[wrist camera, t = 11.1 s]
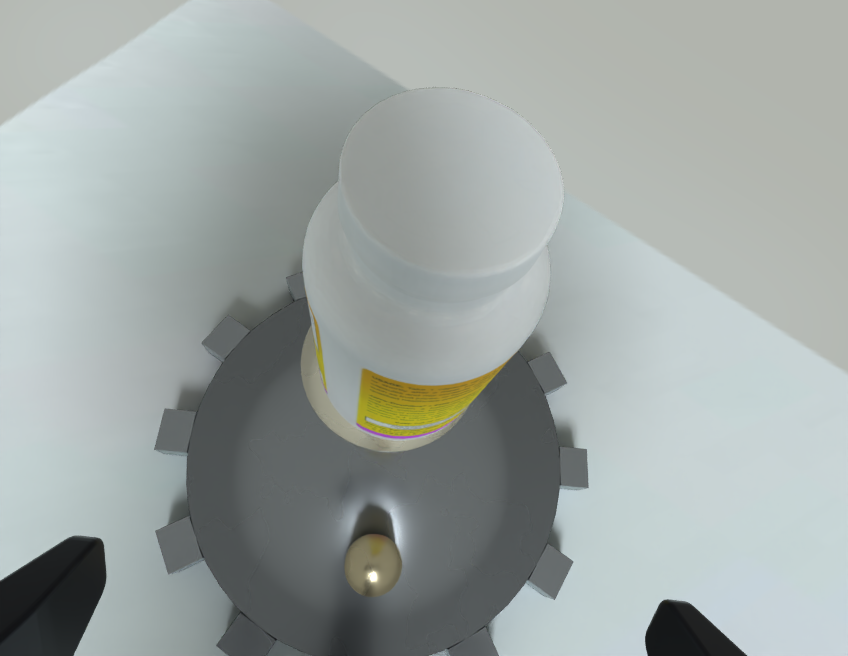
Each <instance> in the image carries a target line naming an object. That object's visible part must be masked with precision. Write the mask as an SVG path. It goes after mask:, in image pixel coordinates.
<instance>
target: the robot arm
mask: <svg viewBox="0 0 848 656" xmlns="http://www.w3.org/2000/svg"><path fill="white" fill-rule="evenodd" d="M105 583H106V565H105V553H104V544H103V541H102V540H101V539H100V538H96V537H87V536H72V537H69V538H67V539H65V540H64V541H62V542H61V543H59V544H58V545H56V546H54V547H53V548H51V549H50V550H48V551H46V552H45V553H43V554H42V555H40V556H38V557H37V558H35V559H34V560H32V561H31V562H29V563H27V564H26V565H24V566H23V567H21V568H19V569H18V570H16V571H15V572H13V573H12V574H10V575H8V576H7V577H5V578H4V579H2V580H0V656H73V655H74V653H75V651H76V649H77V647H78V645H79V643H80V640H81V638H82V636H83V634H84V632H85V630H86V628H87V625H88V623H89V621H90V619H91V617H92V615H93V613H94V610H95V608H96V606H97V604H98V602H99V600H100V598H101V595H102V593H103V590H104V587H105ZM645 644H646V650H647V654H648V656H747V655H746V654H745V653H744V652H743V651H742V650H740V649H739V648H738V647H737V646H736V645H735V644H734V643H733V642H732V641H731V640H730V639H729V638H727V637H726V636H725V635H724V634H723V633H722V632H721V631H720V630H719V629H718V628H717V627H715V626H714V625H713V624H712V623H711V622H710V621H709V620H708V619H707V618H706V617H705V616H704V615H702V614H701V613H700V612H699V611H698V610H697V609H696V608H695V607H694V606H692V605H691V604H690V603H688V602H685V601H677V600H668V599H667V600H663V601H662V602H661V603H660V604H659V606H658V608H657V610H656V612H655V614H654V616H653V619H652V621H651V623H650V625H649V627H648V629H647V631H646V636H645Z"/></svg>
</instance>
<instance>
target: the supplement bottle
mask: <svg viewBox="0 0 848 656" xmlns="http://www.w3.org/2000/svg"><path fill="white" fill-rule="evenodd" d="M563 201H564V186H563V179H562V175H561V171H560V167H559V165H558V163H557V160H556V158H555V156H554V154H553V152H552V150H551V148H550V147H549V145H548V144H547V142H546V141H545V139H544V138H543V136H542V135H541V134H540V133H539V132H538V131H537V130H536V128H535V127H534V126H533V125H532V124H531V123H529V122H528V121H527V120H526V119H525V118H524V117H523V116H521V115H520V114H518V113H517V112H516V111H514V110H513V109H511V108H510V107H508V106H506V105H503V104H501V103H499V102H497V101H496V100H493V99H491V98H489V97H486V96H483V95H481V94H477V93H474V92H471V91H467V90H462V89H457V88H445V87H432V88H421V89H414V90H409V91H405V92H402V93H399V94H396V95H393V96H391V97H389V98H387V99H385V100H383V101H381V102H379V103H378V104H376V105H375V106H374V107H372V108H371V109H370V110H368V111H367V112H366V113H365V114H364V115H363V116H362V117H361V118H360V119H359V120H358V121H357V122H356V124H355V125H354V126H353V128H352V129H351V131H350V132H349V134H348V136H347V138H346V141H345V143H344V145H343V149H342V152H341V156H340V162H339V181H337V182H336V183H335V184H334V185H333V186H332V187H331V188H330V189H329V191H328V192H327V193H326V194H325V195H324V197H323V198H322V200H321V201H320V203H319V204H318V206H317V208H316V209H315V211H314V213H313V215H312V217H311V220H310V222H309V224H308V228H307V231H306V235H305V240H304V246H303V255H302V269H303V277H304V284H305V292H306V296H307V301H308V306H309V312H310V317H311V323H312V330H313V336H314V342H315V348H316V355H317V360H318V367H319V372H320V377H321V380H322V383H323V387H324V390H325V392H326V394H327V396H328V398H329V400H330V402H331V403H332V405H333V406H334V408H335V409H336V410H337V411H338V413H339V414H340V415H341V416H342V417H343V418H344V419H345V420H346V421H348V422H349V423H350V424H351V425H353V426H354V427H356V428H357V429H359V430H361V431H363V432H365V433H367V434H369V435H371V436H374V437H378V438H381V439H387V440H394V441H405V440H413V439H419V438H423V437H426V436H429V435H431V434H434V433H436V432H438V431H440V430H441V429H443V428H445V427H446V426H448V425H449V424H450V423H451V422H453V421H454V420H455V419H456V418H457V417H458V416H459V415H460V414H461V413H462V412H463V411H464V410H465V409H466V408H467V407H468V406H469V405H470V403H471V402H472V401H473V400H474V399H475V398H476V397H477V396H478V395H479V393H480V392H481V391H482V390H483V389H484V388H485V387H486V386H487V384H488V383H489V382H490V381H491V380H492V379H493V378H494V377H495V375H496V374H497V373H498V372H499V371H500V370H501V369H502V368H503V366H504V365H505V364H506V363H507V362H508V361H509V360H510V359H511V358H512V356H513V355H514V354H515V353H516V352H517V351H518V350H519V349H520V348H521V346H522V345H523V344H524V342H525V341H526V340H527V339H528V337H529V336H530V335H531V333H532V332H533V331H534V329H535V327H536V325H537V324H538V322H539V320H540V318H541V316H542V313H543V311H544V308H545V305H546V302H547V298H548V294H549V288H550V280H551V267H550V256H549V250H548V246H547V244H548V242H549V241H550V239H551V237H552V236H553V234H554V232H555V229H556V227H557V225H558V222H559V220H560V217H561V213H562V208H563Z"/></svg>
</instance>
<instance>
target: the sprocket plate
mask: <svg viewBox="0 0 848 656" xmlns="http://www.w3.org/2000/svg"><path fill="white" fill-rule="evenodd" d="M286 279H287V283H288V288H289V291H290V293H291V295H292V298H293V300H294V302H293V303H292V304H290V305H288V306H286V307H285V308H283V309H281V310H280V311H278V312H276V313H274V314H273V315H271V316H270V317H269V318H267V319H266V320H265V321H263V322H262V323H261V324H259V325H258V326H257V327H256V328H254V329H253V330H252V331H250V330H249V329H247V328H246V327H245V326H243V325H242V324H240V323H239V322H238V321H236V320H235V319H233V318H232V317H231V316H229V315H228V316H227V317H226V318H225V319H224V320H223V321H222V322H221V323H220V324H219V325H218V326H217V327H216V328H215V329H214V330H213V331H212V333H211V334H210V335H209V336H208V337H207V338H206V339H205V340H204V341H203V342H202V344H203V346H204V347H205V348H206V349H207V351H208V352H209V353H210V354H212V355H213V356H214V357H216V358H217V359H219V360H220V361H221V362H223V363H222V365H221V367H220V368H219V370H218V371H217V373H216V375H215V376H214V378H213V379H212V381H211V383H210V384H209V386H208V389H207V391H206V393H205V395H204V397H203V400H202V402H201V404H200V406H199V409H198V412H196V411H185V410H175V409H165V410H164V414H163V418H162V422H161V425H160V429H159V433H158V437H157V441H156V445H155V448H154V450H156V451H159V452H161V453H163V454H170V455H181V456H187V479H186V485H187V495H188V505H189V512H190V516H187V517H185V518H183V519H181V520H178V521H176V522H174V523H172V524H170V525H167V526H165V527H163V528H161V529H159V530H156V531H155V532H156V535H157V538H158V541H159V545H160V548H161V551H162V555H163V558H164V561H165V565H166V568H167V571H168V574H173V573H177V572H180V571H182V570H184V569H186V568H188V567H190V566H192V565H194V564H196V563H199V562H201V561H203V560H205V561H206V563H207V565H208V567H209V568H210V570H211V572H212V573H213V575H214V577H215V578H216V580H217V582H218V584H219V585H220V587H221V588H222V589H223V590H224V592H225V593H226V594H227V595H228V597H229V598H230V599H231V600H232V602H233V603H234V604H235V605H236V607H237V608H238V609H239V610H240V611H241V612H240V613H239V615H238V616H237V617H236V619H235V620H234V622H233V623H232V624H231V626H230V627H229V628H228V630H227V631H226V633H225V634H224V635H223V637H222V638H221V639H220V641H219V642H218V644H217V645H216V646H217V647H219V648H220V649H221V650H222V651H224V652H225V653H226V654H227V655H229V656H266V655H267V653H268V652H269V650H270V649H271V647H272V646H273V644H274V643H275V641H276V640H279V641H280V642H282V643H284V644H287V645H289V646H291V647H293V648H295V649H297V650H299V651H302V652H304V653H306V654H309V655H312V656H428V655H431V654H434V653H437V652H440V651H443V650H445V651H446V654H447V656H499V655H498V653H497V651H496V648H495V646H494V644H493V642H492V640H491V637H490V635H489V633H488V631H487V629H486V627H485V625H486V624H488V623H489V622H490V621H491V620H492V619H493V618H494V617H495V616H497V615H498V614H499V613H500V612H501V611H502V610H503V609H504V608H505V607H506V606H507V605H508V604H509V603H510V602H511V600H512V599H513V598H514V597H515V596H516V594H517V593H518V592H519V591H520V589H521V588H522V587H523V586H524V584H525V583H527V584H528V585H529V586H531V587H532V588H533V589H535V590H536V591H538V592H539V593H540V594H542V595H543V596H545V597H548V598H551V599H554V600H555V598H556V596H557V594H558V592H559V590H560V588H561V586H562V584H563V582H564V580H565V578H566V576H567V574H568V572H569V570H570V568H571V566H572V564H573V561H572V560H571V559H569V558H568V557H566V556H565V555H564V554H562V553H561V552H559V551H558V550H557V549H555V548H554V547H552V546H551V545H550V544H548V543H547V541H548V538H549V535H550V532H551V528H552V525H553V521H554V518H555V515H556V509H557V502H558V496H559V489H568V490H581V489H586V488H588V467H587V449H579V448H569V447H559V446H558V439H557V434H556V430H555V425H554V420H553V417H552V414H551V411H550V408H549V405H548V402H547V399H546V397H545V396H546V395H548V394H550V393H552V392H554V391H556V390H558V389H559V388H561V387H562V386H564V385H565V384H567V382H566V380H565V378H564V376H563V375H562V373H561V371H560V369H559V368H558V366H557V364H556V362H555V361H554V359H553V357H552V356H551V354H550V352H548V353H546V354H544V355H542V356H539V357H537V358H535V359H533V360H531V361H528V362H526V361H525V359H524V358H523V357H522V356H521V354H520V353H519V352H518V351H517V352H516V353H515V354H514V355H513V356H512V358H511V359H510V360H509V361H508V362H507V363H506V364H505V365H504V366H503V368H502V369H501V370H500V371H499V372H498V373H497V374H496V375H495V377H494V378H493V379H492V380H491V381H490V382H489V383H488V384H487V386H486V387H485V388H484V389H483V390H482V391H481V392H480V393H479V395H478V396H477V397H476V398H475V399H474V400H473V401H472V402H471V403H470V405H469V406H468V407H467V408H466V409H465V410H464V411H463V412H462V413H461V414H460V415H459V416H458V417H457V418H456V419H455V420H454V421H453V422H451V423H450V424H449V425H448V426H446V427H445V428H443V429H441V430H440V431H438V432H436V433H434V434H431V435H429V436H426V437H423V438H419V439H413V440H405V441H394V440H387V439H381V438H378V437H374V436H371V435H369V434H367V433H365V432H363V431H361V430H359V429H357V428H356V427H354V426H353V425H351V424H350V423H349V422H348V421H346V420H345V419H344V418H343V417H342V416H341V415H340V414H339V413H338V411H337V410H336V409H335V408H334V406H333V405H332V403H331V402H330V400H329V398H328V396H327V394H326V392H325V390H324V387H323V383H322V380H321V377H320V372H319V367H318V360H317V355H316V348H315V342H314V336H313V330H312V323H311V317H310V312H309V306H308V301H307V296H306V292H305V284H304V277H303V272H301V273H298V274H295V275H292V276H289V277H286Z"/></svg>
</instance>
